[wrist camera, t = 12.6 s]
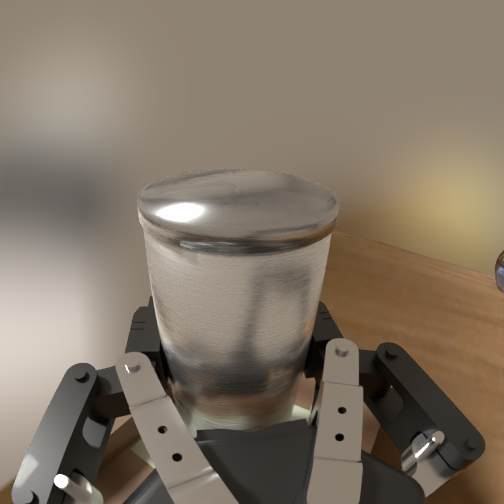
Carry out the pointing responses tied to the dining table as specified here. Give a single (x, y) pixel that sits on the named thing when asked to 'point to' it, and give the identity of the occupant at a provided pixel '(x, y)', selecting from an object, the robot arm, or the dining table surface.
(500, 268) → the tin
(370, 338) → the dining table surface
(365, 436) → the platform
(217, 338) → the canister
